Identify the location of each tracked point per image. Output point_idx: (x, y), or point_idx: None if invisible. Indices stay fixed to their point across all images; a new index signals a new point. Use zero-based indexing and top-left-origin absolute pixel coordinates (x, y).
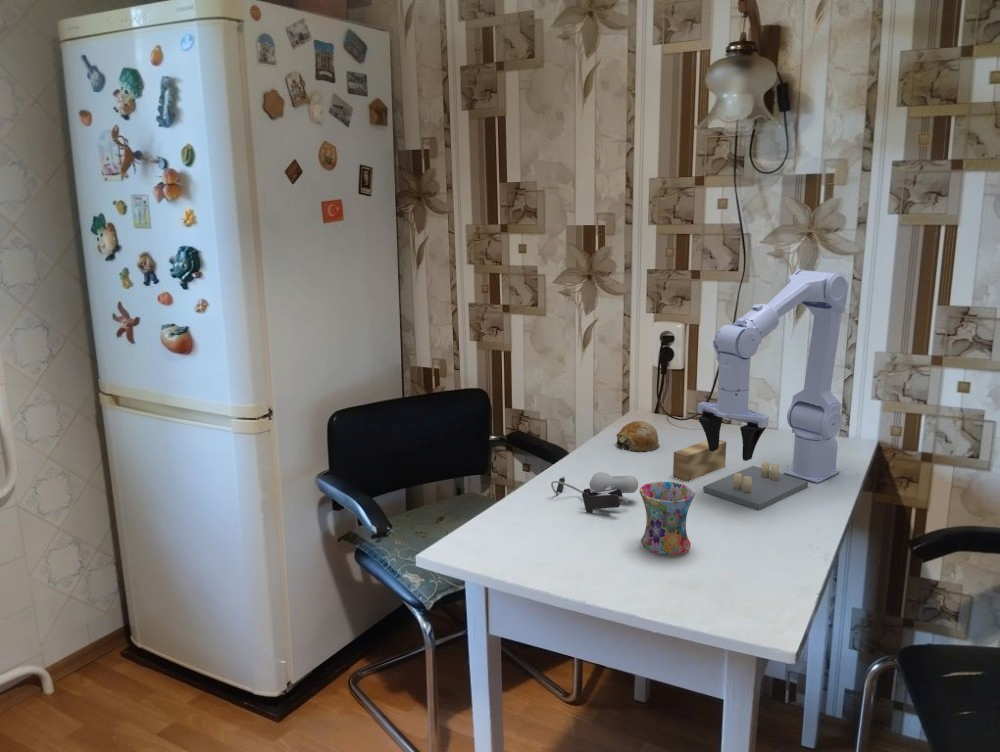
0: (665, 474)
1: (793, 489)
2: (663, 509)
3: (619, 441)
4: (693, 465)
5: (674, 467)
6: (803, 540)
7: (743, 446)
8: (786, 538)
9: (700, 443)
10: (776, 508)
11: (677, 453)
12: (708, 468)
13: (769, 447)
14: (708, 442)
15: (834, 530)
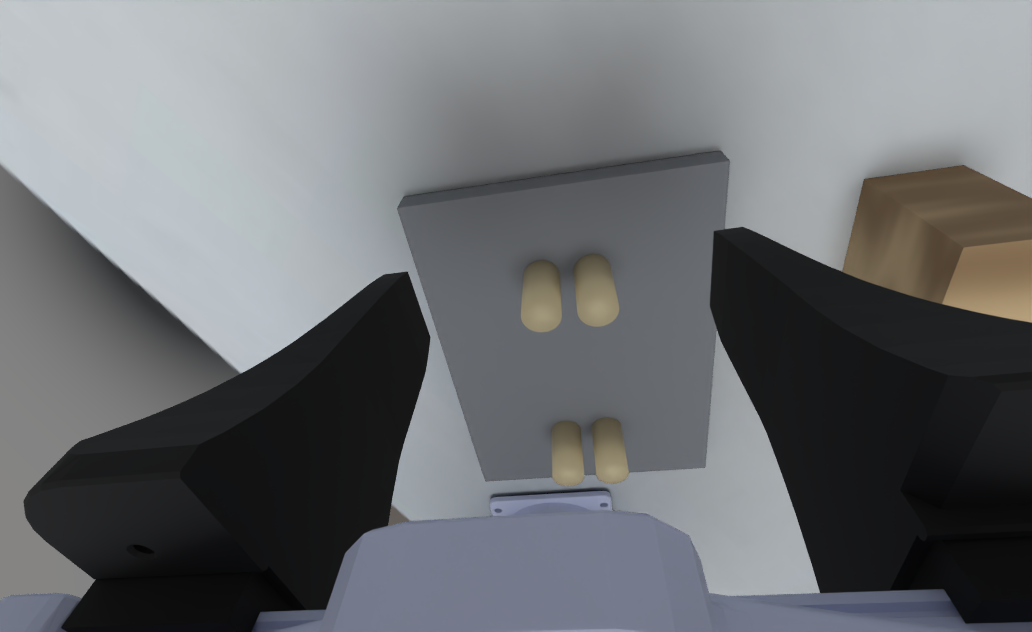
0: (1027, 166)
1: (465, 414)
2: None
3: None
4: (895, 266)
5: (1001, 190)
6: (56, 101)
7: (342, 328)
8: (86, 49)
9: None
10: (390, 269)
11: None
12: None
13: (774, 586)
14: (778, 249)
15: (140, 276)
